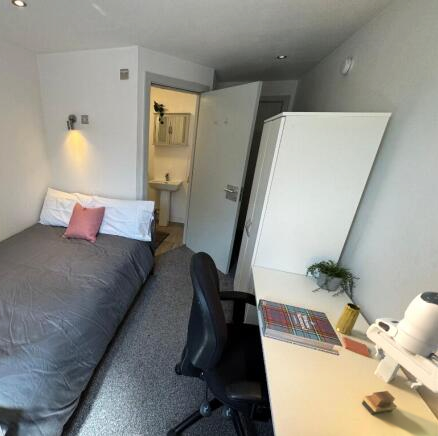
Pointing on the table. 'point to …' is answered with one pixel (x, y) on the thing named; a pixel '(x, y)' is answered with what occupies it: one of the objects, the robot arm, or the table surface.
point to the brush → (379, 402)
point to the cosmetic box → (387, 368)
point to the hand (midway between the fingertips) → (394, 371)
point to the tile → (356, 346)
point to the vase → (348, 318)
